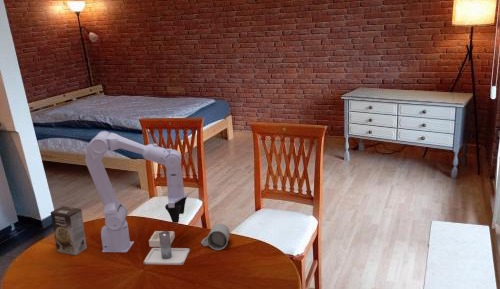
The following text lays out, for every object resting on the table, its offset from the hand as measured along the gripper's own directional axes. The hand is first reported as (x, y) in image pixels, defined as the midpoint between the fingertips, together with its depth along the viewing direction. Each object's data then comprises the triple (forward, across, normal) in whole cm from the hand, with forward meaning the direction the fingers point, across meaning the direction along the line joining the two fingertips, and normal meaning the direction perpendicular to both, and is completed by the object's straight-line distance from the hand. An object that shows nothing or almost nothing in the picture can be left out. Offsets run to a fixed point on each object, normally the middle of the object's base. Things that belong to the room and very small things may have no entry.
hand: (178, 217), depth 165 cm
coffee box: (+11, -6, +40) cm, 42 cm away
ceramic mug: (+11, -1, -14) cm, 17 cm away
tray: (+10, -11, +2) cm, 15 cm away
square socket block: (+10, 0, +7) cm, 13 cm away
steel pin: (+10, -11, +2) cm, 15 cm away
